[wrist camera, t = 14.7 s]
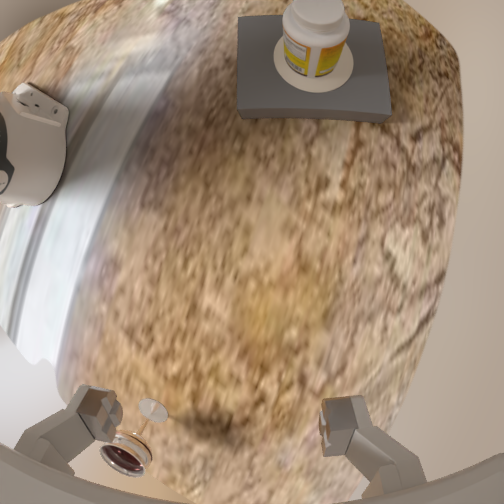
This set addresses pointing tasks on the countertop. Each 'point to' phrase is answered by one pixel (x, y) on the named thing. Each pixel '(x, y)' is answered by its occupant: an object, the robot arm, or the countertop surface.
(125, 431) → the wineglass
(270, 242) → the countertop surface
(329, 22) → the supplement bottle
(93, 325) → the countertop surface
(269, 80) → the block
